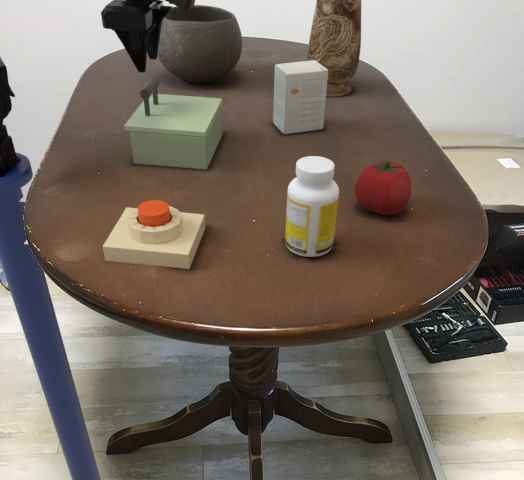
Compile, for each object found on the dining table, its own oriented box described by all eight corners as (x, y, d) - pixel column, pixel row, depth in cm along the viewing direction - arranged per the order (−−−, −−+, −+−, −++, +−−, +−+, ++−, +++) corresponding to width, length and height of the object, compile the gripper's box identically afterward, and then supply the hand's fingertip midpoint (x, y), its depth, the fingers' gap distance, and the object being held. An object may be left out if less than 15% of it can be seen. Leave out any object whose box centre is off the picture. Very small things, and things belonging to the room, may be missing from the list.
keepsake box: (133, 163, 96) (129, 131, 92) (157, 128, 107) (154, 98, 103) (206, 169, 95) (205, 137, 91) (223, 133, 106) (222, 103, 102)
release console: (105, 260, 75) (100, 233, 73) (128, 221, 83) (124, 195, 80) (189, 269, 75) (187, 242, 72) (205, 228, 82) (204, 202, 79)
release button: (135, 226, 75) (133, 214, 74) (143, 210, 78) (142, 198, 77) (165, 229, 75) (164, 216, 73) (173, 213, 77) (172, 201, 76)
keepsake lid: (124, 130, 92) (120, 98, 89) (149, 97, 103) (146, 67, 100) (205, 137, 91) (204, 104, 88) (222, 103, 102) (221, 72, 99)
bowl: (146, 71, 129) (140, 5, 121) (221, 61, 136) (220, -2, 127) (175, 98, 118) (170, 28, 109) (256, 86, 124) (257, 19, 116)
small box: (311, 118, 112) (316, 59, 105) (323, 130, 108) (329, 69, 101) (272, 123, 110) (274, 63, 103) (283, 135, 106) (286, 73, 99)
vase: (358, 84, 127) (381, -89, 106) (350, 101, 119) (373, -81, 99) (311, 78, 129) (324, -93, 108) (300, 95, 121) (312, -86, 101)
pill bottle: (337, 238, 81) (348, 157, 73) (325, 263, 76) (335, 180, 68) (292, 229, 82) (297, 149, 74) (278, 253, 78) (282, 170, 70)
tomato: (343, 208, 87) (349, 161, 82) (375, 190, 91) (383, 145, 86) (388, 228, 83) (397, 181, 78) (419, 209, 87) (430, 162, 82)
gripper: (176, -39, 74) (184, 89, 85) (206, -62, 88) (210, 51, 99) (91, -43, 75) (109, 84, 86) (133, -66, 89) (145, 46, 100)
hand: (147, 65), depth 92 cm, fingers open, 6 cm apart
